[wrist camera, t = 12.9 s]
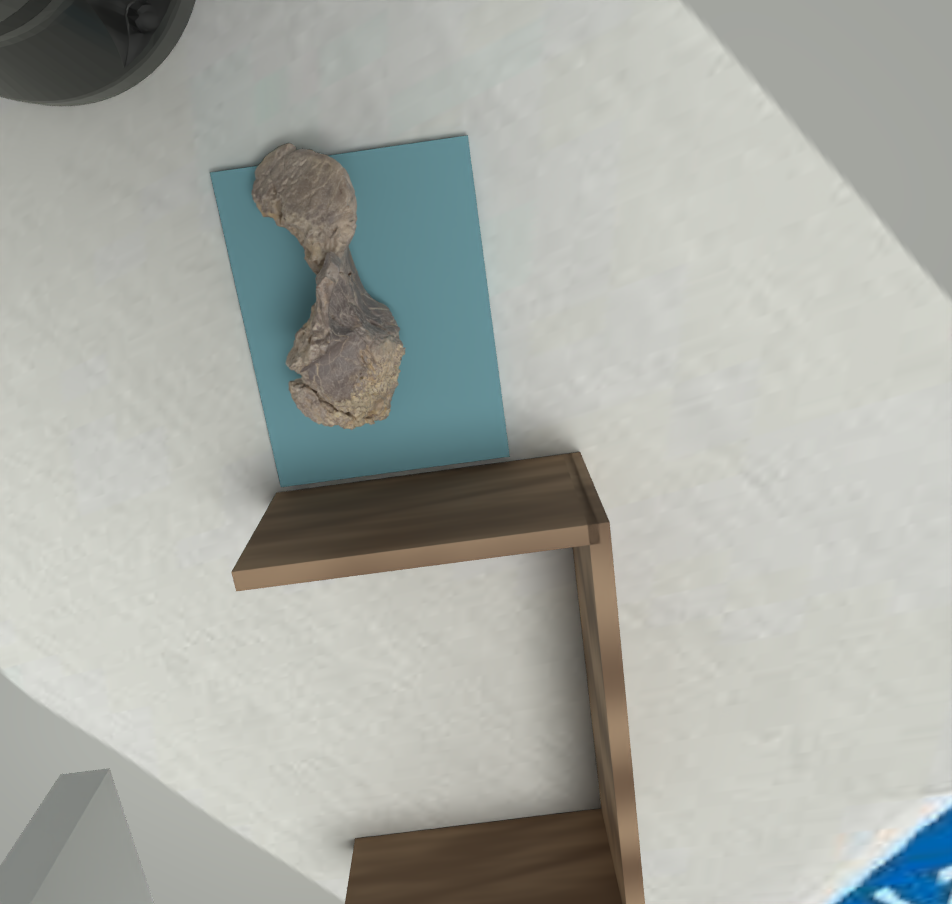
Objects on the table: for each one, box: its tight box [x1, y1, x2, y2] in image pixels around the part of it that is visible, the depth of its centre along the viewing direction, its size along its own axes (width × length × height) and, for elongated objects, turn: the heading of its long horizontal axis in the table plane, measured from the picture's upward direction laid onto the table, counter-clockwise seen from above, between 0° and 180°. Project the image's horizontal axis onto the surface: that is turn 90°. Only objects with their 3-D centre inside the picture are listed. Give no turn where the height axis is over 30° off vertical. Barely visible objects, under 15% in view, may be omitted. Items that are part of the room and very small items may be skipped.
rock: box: [251, 143, 406, 430], centre depth 41 cm, size 6×14×7 cm, turn 9°
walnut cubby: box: [232, 452, 645, 904], centre depth 48 cm, size 26×18×10 cm
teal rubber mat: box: [210, 135, 510, 487], centre depth 45 cm, size 17×13×1 cm
